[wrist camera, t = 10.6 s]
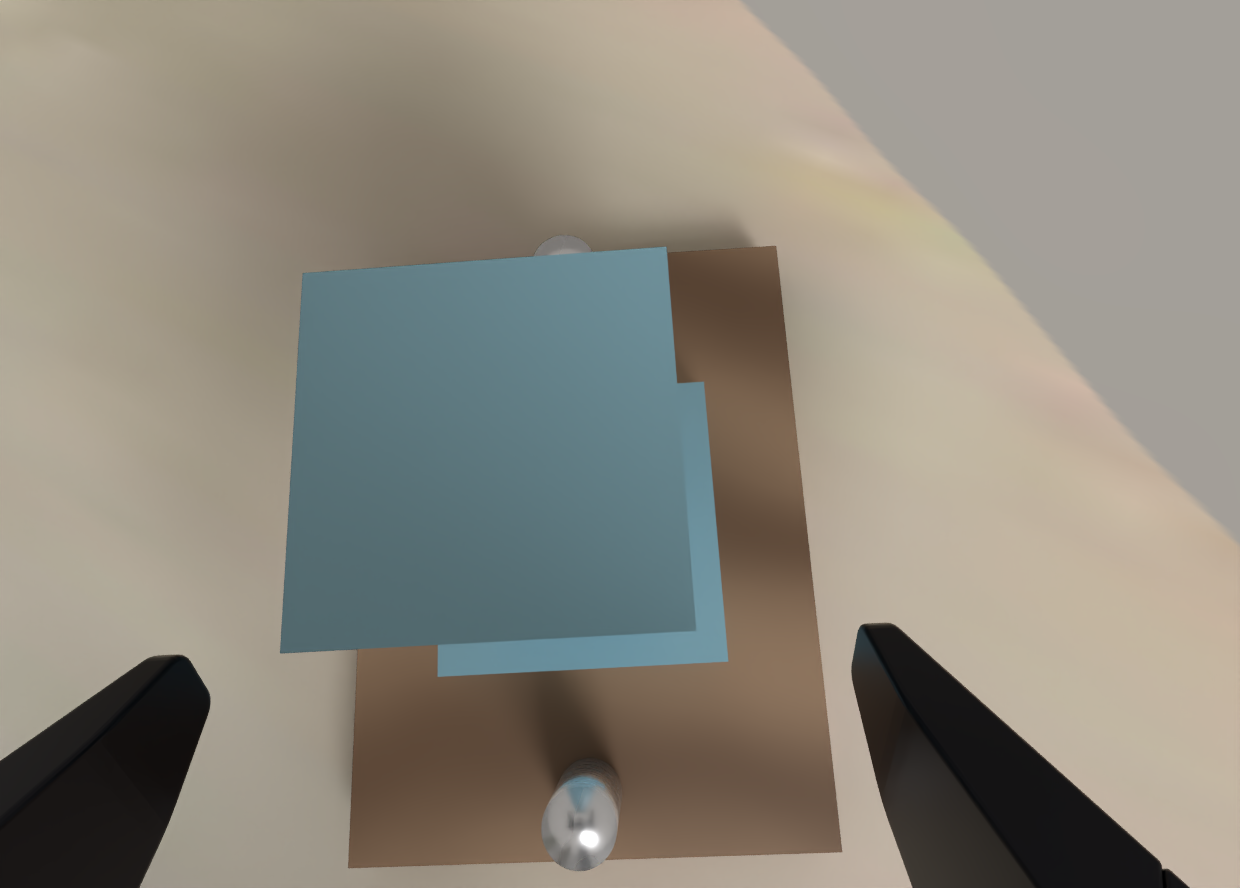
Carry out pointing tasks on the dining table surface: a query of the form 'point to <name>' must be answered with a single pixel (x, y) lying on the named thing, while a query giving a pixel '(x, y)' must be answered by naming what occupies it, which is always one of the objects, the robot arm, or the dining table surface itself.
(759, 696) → the walnut base plate
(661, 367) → the stepped blue block
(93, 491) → the dining table surface
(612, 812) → the dowel pins
